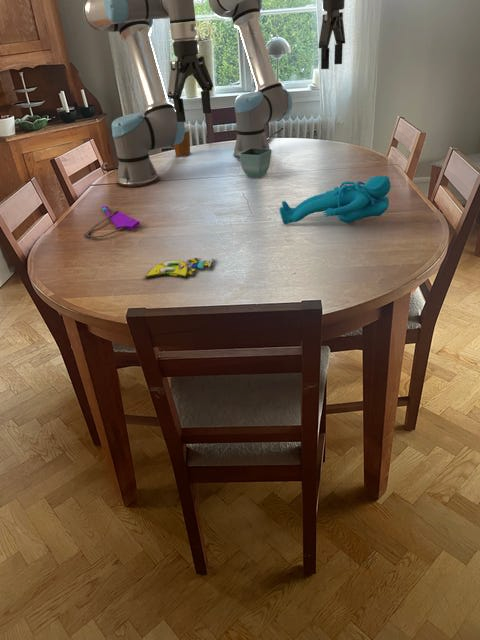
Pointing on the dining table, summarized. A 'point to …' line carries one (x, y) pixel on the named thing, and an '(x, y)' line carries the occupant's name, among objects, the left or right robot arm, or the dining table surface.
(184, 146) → the beer glass
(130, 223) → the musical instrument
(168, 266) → the toy
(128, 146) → the left robot arm
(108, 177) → the dining table surface
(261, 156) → the green square planter
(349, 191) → the toy
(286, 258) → the dining table surface
